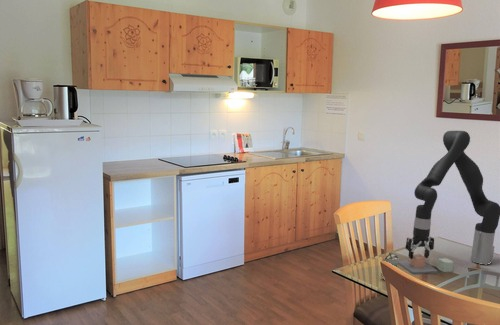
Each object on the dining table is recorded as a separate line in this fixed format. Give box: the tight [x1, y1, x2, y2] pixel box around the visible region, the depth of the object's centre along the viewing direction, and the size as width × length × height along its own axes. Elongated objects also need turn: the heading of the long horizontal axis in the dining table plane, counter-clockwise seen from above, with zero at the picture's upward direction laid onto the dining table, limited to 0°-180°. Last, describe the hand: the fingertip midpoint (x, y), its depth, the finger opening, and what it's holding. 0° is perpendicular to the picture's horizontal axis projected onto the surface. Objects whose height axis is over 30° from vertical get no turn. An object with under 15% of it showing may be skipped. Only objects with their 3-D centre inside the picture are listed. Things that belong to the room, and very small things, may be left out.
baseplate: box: [398, 259, 439, 275], centre depth 217 cm, size 14×14×1 cm
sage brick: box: [436, 257, 454, 273], centre depth 216 cm, size 5×5×5 cm
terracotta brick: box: [409, 253, 427, 268], centre depth 217 cm, size 5×5×5 cm
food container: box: [381, 251, 401, 277], centre depth 203 cm, size 12×6×10 cm, turn 148°
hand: (418, 258), depth 217 cm, fingers open, 8 cm apart
